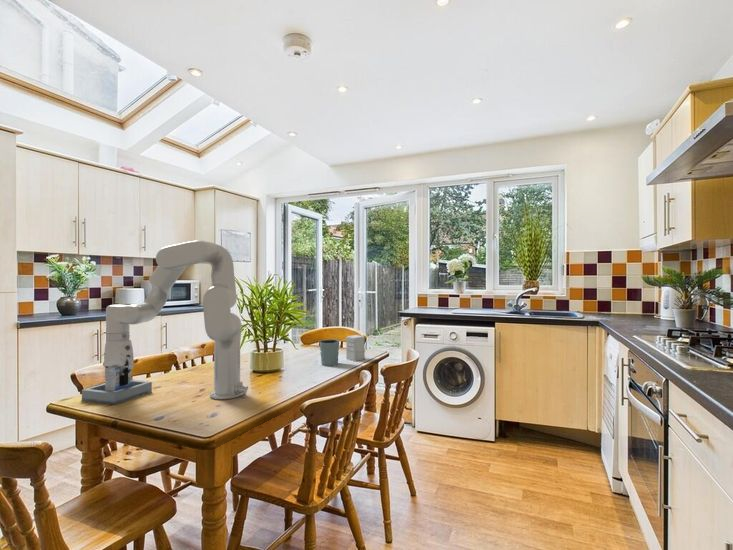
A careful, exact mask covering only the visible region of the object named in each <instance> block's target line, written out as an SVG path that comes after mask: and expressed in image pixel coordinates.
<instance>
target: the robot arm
mask: <svg viewBox="0 0 733 550" xmlns="http://www.w3.org/2000/svg"><path fill="white" fill-rule="evenodd" d="M155 262H156V264H157V266H156V268H155V269H154V270H153V271H152V273H151V275H150V276H149V278H148V282H149V284H150V285H151V289H150V292H149V293H148V295H147V297H146V298H145V299H144V301H143V302H142V303H135V304H130V305H129V304H128V305H127V304H110V305H107V306H106V308H105V337H106V338H105V344H104V352H103V354H104V355H103V357H104V358H103V363H102V366H103V367H104V369H105V368H108V367H119V368H120V373H121V375H120V386H123V385H126V384H128V374H129V373H130V371H131V372H132V369H134V368H135V365H134V362H135V361H134V350H133V347H134V346H133V343H132V340H131V339H130V337H131V335H130V325H138V324H143V323H146V322H150V321H152V320H154V319H155V317H156V316H158V314H160V312H161V310H162V309H163V308H164V306H165V304H166V303H167V301H168V298H169V296H170V292H171V290H172V288H173V286H174V285H175V283H176V282H177V280H178V279H179V278H180V276H181V275H182V274H183V272H184V271H185V270H186V268H187V267H188V266H192V265H198V264H203V265H206V264H207V265H210V266H211V273H210V278H211V286H210V287H209V288H207V290H206V291H205V292H204V294H203V298H202V307H203V319H204V330H205V333H206V335H207V337H208V338H209V339H210V340H211V341H214V346H213V384H214V385H213V390H211V392H209V397H210V398H212V399H214V400H231V399H235V398H238V397H242V395H244V394H246V393H247V392H248V390H249V386H247V385H243V381H241V338H242V321H241V318H240V317H239V316H238V315H237V314H235V313H234V312H231V309H232V308H233V307H235V305H236V304H237V299H238V296H237V286H236V277H235V268H234V267H235V266H234V260H233V258H232V254H231V253H230V252H229V251H228V249H226V248H225V247H224V246H222V245H219V244H217V243H214V242H210V241H205V240H191V241H187V242H182V243H177V244H172V245H167V246H164V247H162V248H160V249H159V250H158V251H157V253H156V256H155ZM123 368H125V370H124V369H123Z"/></svg>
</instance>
